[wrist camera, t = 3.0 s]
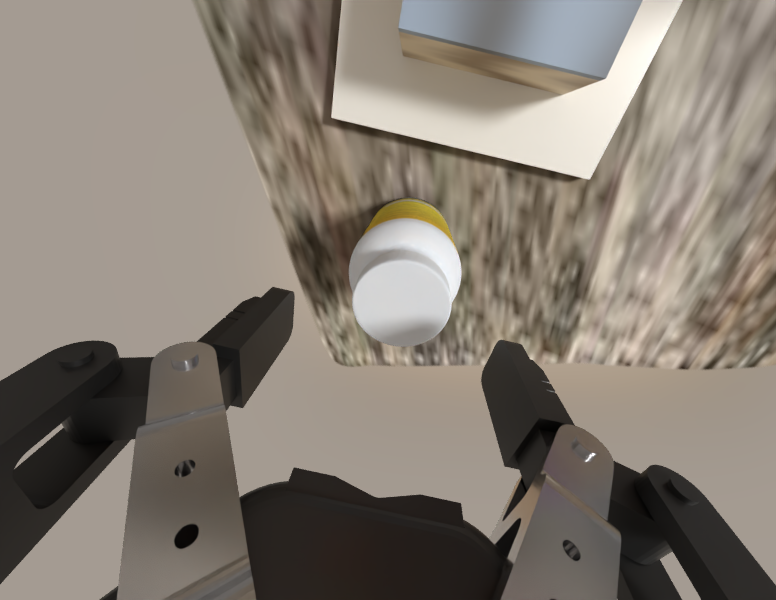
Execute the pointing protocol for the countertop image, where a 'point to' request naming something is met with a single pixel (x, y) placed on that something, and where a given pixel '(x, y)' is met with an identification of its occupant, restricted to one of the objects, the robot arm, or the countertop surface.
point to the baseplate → (485, 94)
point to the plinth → (520, 38)
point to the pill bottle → (404, 273)
